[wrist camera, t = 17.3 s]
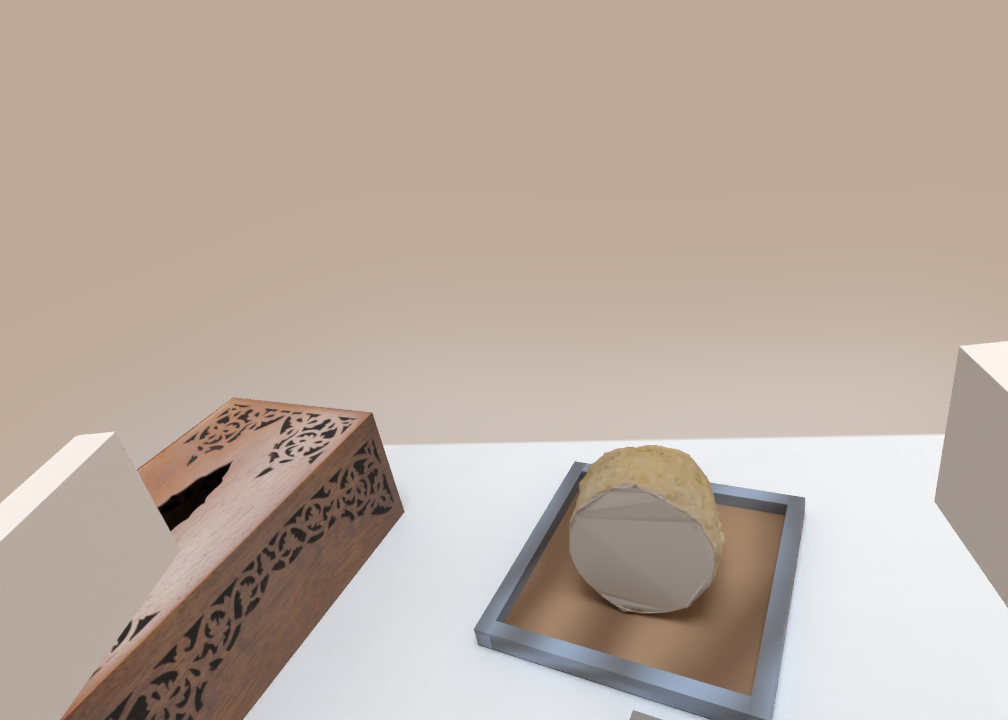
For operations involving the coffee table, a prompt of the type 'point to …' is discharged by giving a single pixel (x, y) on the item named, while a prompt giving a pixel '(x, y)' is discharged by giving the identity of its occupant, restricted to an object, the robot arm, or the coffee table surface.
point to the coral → (646, 529)
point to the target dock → (660, 636)
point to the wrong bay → (641, 716)
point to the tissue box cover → (245, 557)
